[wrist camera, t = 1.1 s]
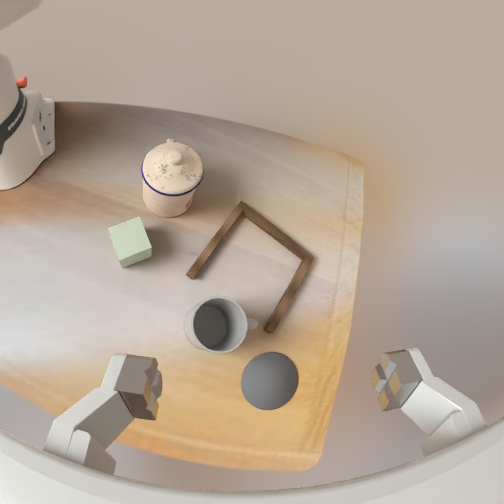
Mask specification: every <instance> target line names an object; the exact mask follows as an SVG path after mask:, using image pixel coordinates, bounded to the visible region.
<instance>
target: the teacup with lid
mask: <svg viewBox="0 0 504 504" xmlns="http://www.w3.org/2000/svg"><path fill="white" fill-rule="evenodd" d="M203 173H204V168H203V163H202V160H201V158H200V156H199V155H198V154H197V152H196V151H194V150H193V149H192V148H191V147H189V146H187V145H185V144H181V143H176V142H175V141H174V139H168V140H167V141H166V143H164V144H161V145H158V146H156V147H155V148H153V149H152V150H151V151H150V152H149V153H148V154H147V155H146V157H145V158H144V160H143V163H142V176H143V200H144V203H145V205H146V207H147V208H148V209H149V210H150V211H151V212H152V213H154V214H156V215H158V216H161V217H175V216H178V215H180V214H182V213H184V212H185V211H186V210H187V209H188V208H189V206H190V205H191V202H192V200H193V197H194V194H195V192H196V189H197V186H198V185H199V184H200V182H201V180H202V178H203Z"/></svg>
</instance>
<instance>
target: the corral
mask: <svg viewBox="0 0 504 504" xmlns="http://www.w3.org/2000/svg"><path fill="white" fill-rule="evenodd" d="M240 214H243V215H244V216H245V217H246V218H248V219H249V220H250V221H252V222H253V223H254V224H256V225H257V226H258V227H260V228H261V229H262V230H264V231H265V232H266V233H268V234H269V235H270V236H272V237H273V238H274V239H275V240H277V241H278V242H279V243H281V244H282V245H283V246H285V247H286V248H287V249H288V250H290V251H291V252H292V253H294V254H295V255H296V256H298V257H299V258H300V259H301V260H302V262H301V264H300V266H299V268H298V269H297V271H296V273H295V275H294V277H293V279H292V280H291V282H290V284H289V286H288V288H287V289H286V291H285V293H284V295H283V297H282V298H281V300H280V302H279V304H278V305H277V307H276V309H275V311H274V312H273V314H272V316H271V318H270V319H269V321H268V323H267V324H266V326H265V328H264V330H265V331H267V332H268V333H273V332H274V331H275V329H276V327H277V325H278V324H279V322H280V320H281V318H282V316H283V315H284V313H285V311H286V309H287V307H288V306H289V304H290V302H291V300H292V298H293V296H294V295H295V293H296V291H297V289H298V287H299V285H300V283H301V282H302V280H303V278H304V276H305V274H306V272H307V270H308V268H309V266H310V264H311V262H312V261H313V259H314V256H312V255H311V254H310V253H309V252H307V251H306V250H305V249H304V248H302V247H301V246H300V245H299V244H297V243H296V242H295V241H293V240H292V239H291V238H290V237H288V236H287V235H286V234H284V233H283V232H282V231H281V230H279V229H278V228H277V227H275V226H274V225H273V224H271V223H270V222H269V221H268V220H266V219H265V218H264V217H262V216H261V215H260V214H258V213H257V212H256V211H254V210H253V209H252V208H250V207H249V206H248V205H246V204H245V203H244V202H242V201H241V202H240V203H239V204H238V206H237V207H236V208H235V210H234V211H233V212H232V214H231V215H230V216H229V217H228V219H227V220H226V221H225V223H224V224H223V225H222V227H221V228H220V229H219V231H218V232H217V233H216V235H215V236H214V237H213V239H212V240H211V241H210V243H209V244H208V245H207V247H206V248H205V249H204V251H203V252H202V253H201V255H200V256H199V257H198V259H197V260H196V262H195V263H194V264H193V266H192V267H191V268H190V270H189V271H188V272H187V274H186V275H187V276H188V277H190V278H191V279H193V278H194V276H195V275H196V274H197V272H198V271H199V269H200V268H201V267H202V265H203V264H204V262H205V261H206V260H207V258H208V257H209V256H210V254H211V253H212V251H213V250H214V249H215V247H216V246H217V245H218V243H219V242H220V240H221V239H222V238H223V236H224V235H225V234H226V232H227V231H228V230H229V228H230V227H231V226H232V224H233V223H234V222H235V220H236V219H237V218H238V216H239V215H240Z"/></svg>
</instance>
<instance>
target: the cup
mask: <svg viewBox="0 0 504 504" xmlns="http://www.w3.org/2000/svg"><path fill="white" fill-rule="evenodd" d="M257 326H258V322H257V320H256V319H253V318H246V315H245V313H244V311H243V309H242V308H241V307H240V305H239V304H238V303H236V302H235V301H234V300H232V299H230V298H227V297H223V296H215V297H210V298H208V299H205V300H203V301H202V302H200V303H199V304H197V305H196V306H194V307H193V308H192V309H190V310H189V312H188V313H187V315H186V317H185V319H184V326H183V328H184V333H185V335H186V338H187V339H188V340H189V342H190V343H191V344H192V345H194V346H195V347H197V348H199V349H202V350H205V351H209V352H212V353H221V354H222V353H227V352H230V351H232V350H234V349H236V348H237V347H238V346H239V345H240V344H241V343H242V342H243V340H244V338H245V336H246V333H247V330H254V329H256V328H257Z"/></svg>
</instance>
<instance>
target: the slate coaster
mask: <svg viewBox="0 0 504 504" xmlns="http://www.w3.org/2000/svg"><path fill="white" fill-rule="evenodd" d="M297 384H298V374H297V370H296V367H295V365H294V364H293V362H292V361H291V360H290V359H289V358H288V357H286V356H285V355H283V354H280V353H275V352H269V353H263V354H261V355H259V356H257V357H255V358H254V359H253V360H251V361H250V362H249V364H248V365H247V366H246V368H245V370H244V372H243V375H242V381H241V387H242V391H243V394H244V396H245V398H246V399H247V401H248V402H249V403H250V404H252V405H253V406H255V407H256V408H259V409H263V410H273V409H277V408H279V407H281V406H283V405H285V404H286V403H287V402H288V401H289V400H290V399H291V398H292V396H293V395H294V393H295V391H296V388H297Z"/></svg>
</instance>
